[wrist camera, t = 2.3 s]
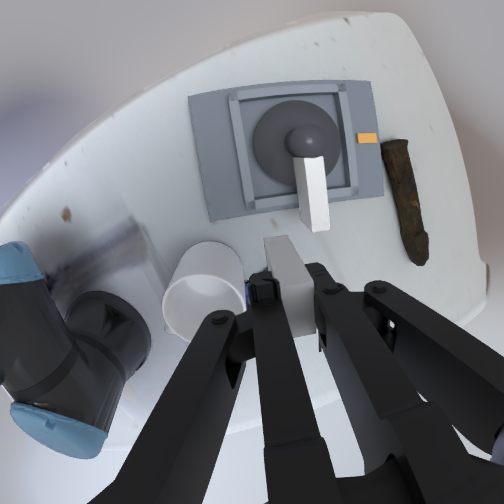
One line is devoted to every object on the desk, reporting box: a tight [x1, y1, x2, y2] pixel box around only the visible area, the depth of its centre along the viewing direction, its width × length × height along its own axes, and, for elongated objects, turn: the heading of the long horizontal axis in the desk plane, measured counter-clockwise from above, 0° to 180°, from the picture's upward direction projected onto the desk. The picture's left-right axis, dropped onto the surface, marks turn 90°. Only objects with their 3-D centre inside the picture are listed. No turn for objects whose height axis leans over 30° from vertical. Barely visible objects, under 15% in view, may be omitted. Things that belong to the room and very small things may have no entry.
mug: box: [162, 241, 246, 343], centre depth 32 cm, size 9×12×11 cm
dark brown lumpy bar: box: [380, 139, 429, 266], centre depth 33 cm, size 19×4×5 cm, turn 20°
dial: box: [253, 100, 341, 233], centre depth 27 cm, size 13×10×7 cm
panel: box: [188, 80, 384, 222], centre depth 30 cm, size 22×15×4 cm
